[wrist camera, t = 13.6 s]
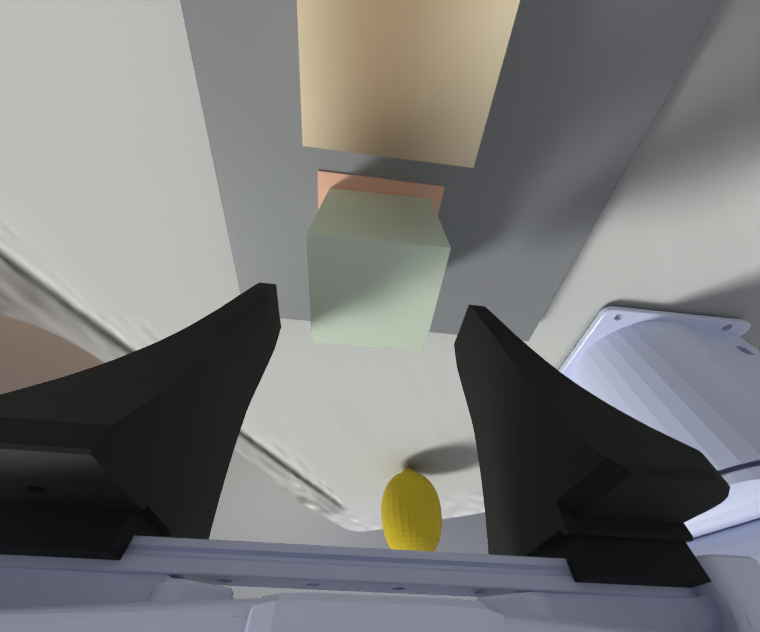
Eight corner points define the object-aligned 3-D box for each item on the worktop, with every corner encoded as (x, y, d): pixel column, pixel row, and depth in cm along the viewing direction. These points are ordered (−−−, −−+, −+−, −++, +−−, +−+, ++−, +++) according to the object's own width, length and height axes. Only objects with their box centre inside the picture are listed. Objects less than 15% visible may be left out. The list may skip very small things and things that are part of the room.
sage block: (430, 198, 13) (450, 248, 9) (413, 284, 16) (424, 350, 12) (329, 188, 13) (305, 234, 9) (330, 276, 16) (312, 342, 12)
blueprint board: (816, -233, 8) (884, -282, 7) (521, 328, 19) (529, 342, 18) (126, -392, 7) (79, -479, 6) (252, 302, 18) (244, 315, 17)
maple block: (478, -27, 9) (551, -113, 5) (443, 139, 12) (473, 167, 8) (331, -52, 9) (290, -164, 5) (330, 124, 11) (302, 146, 8)
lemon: (406, 484, 33) (411, 578, 27) (370, 467, 31) (367, 566, 25) (446, 468, 31) (462, 567, 25) (410, 448, 29) (418, 552, 22)
